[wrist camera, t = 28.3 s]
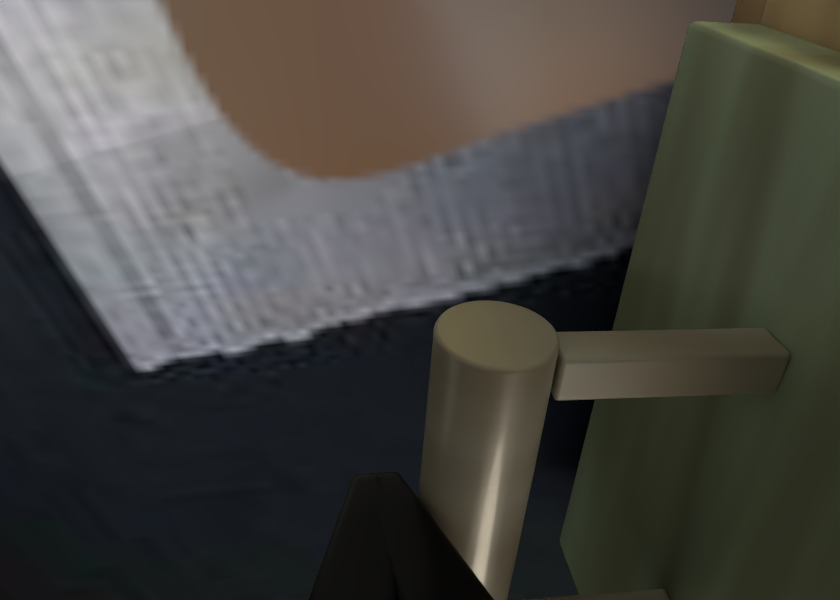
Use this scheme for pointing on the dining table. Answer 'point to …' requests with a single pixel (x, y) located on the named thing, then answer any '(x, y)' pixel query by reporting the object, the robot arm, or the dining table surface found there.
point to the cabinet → (795, 18)
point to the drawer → (678, 360)
